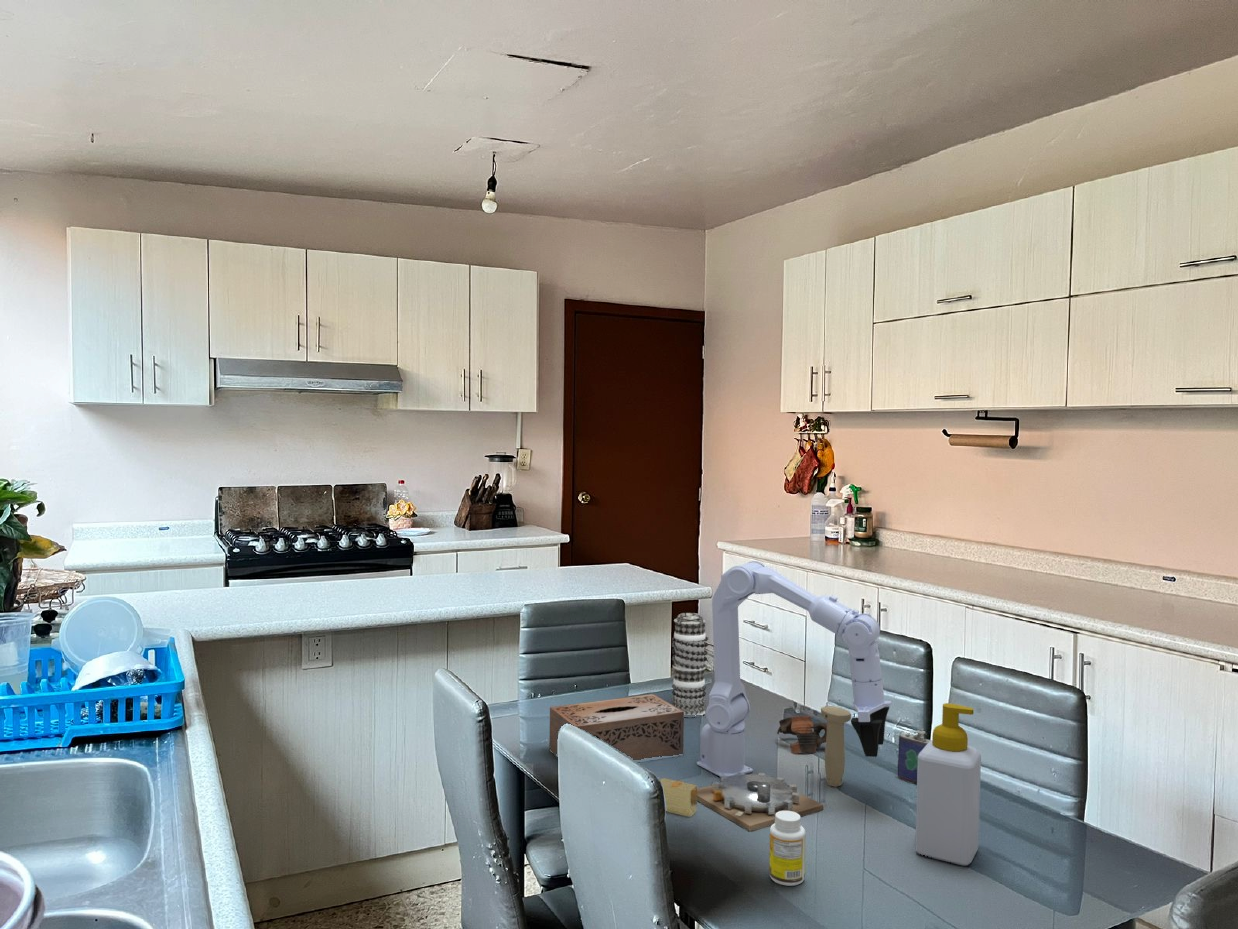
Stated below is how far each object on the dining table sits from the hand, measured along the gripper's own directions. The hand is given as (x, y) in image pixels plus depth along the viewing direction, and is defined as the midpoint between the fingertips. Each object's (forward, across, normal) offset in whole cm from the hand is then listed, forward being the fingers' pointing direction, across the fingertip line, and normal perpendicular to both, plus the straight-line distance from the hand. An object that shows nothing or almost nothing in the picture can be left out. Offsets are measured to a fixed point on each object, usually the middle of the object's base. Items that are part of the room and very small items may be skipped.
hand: (874, 750), depth 172 cm
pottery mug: (+8, +25, +20) cm, 33 cm away
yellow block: (+6, -20, +34) cm, 40 cm away
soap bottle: (+13, -15, -13) cm, 24 cm away
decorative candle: (+3, +36, +52) cm, 63 cm away
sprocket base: (+8, -10, +22) cm, 25 cm away
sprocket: (+6, -10, +22) cm, 25 cm away
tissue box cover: (+3, +2, +56) cm, 57 cm away
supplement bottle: (+10, -36, +9) cm, 39 cm away
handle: (+9, +6, +10) cm, 15 cm away
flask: (+11, +15, -5) cm, 19 cm away
